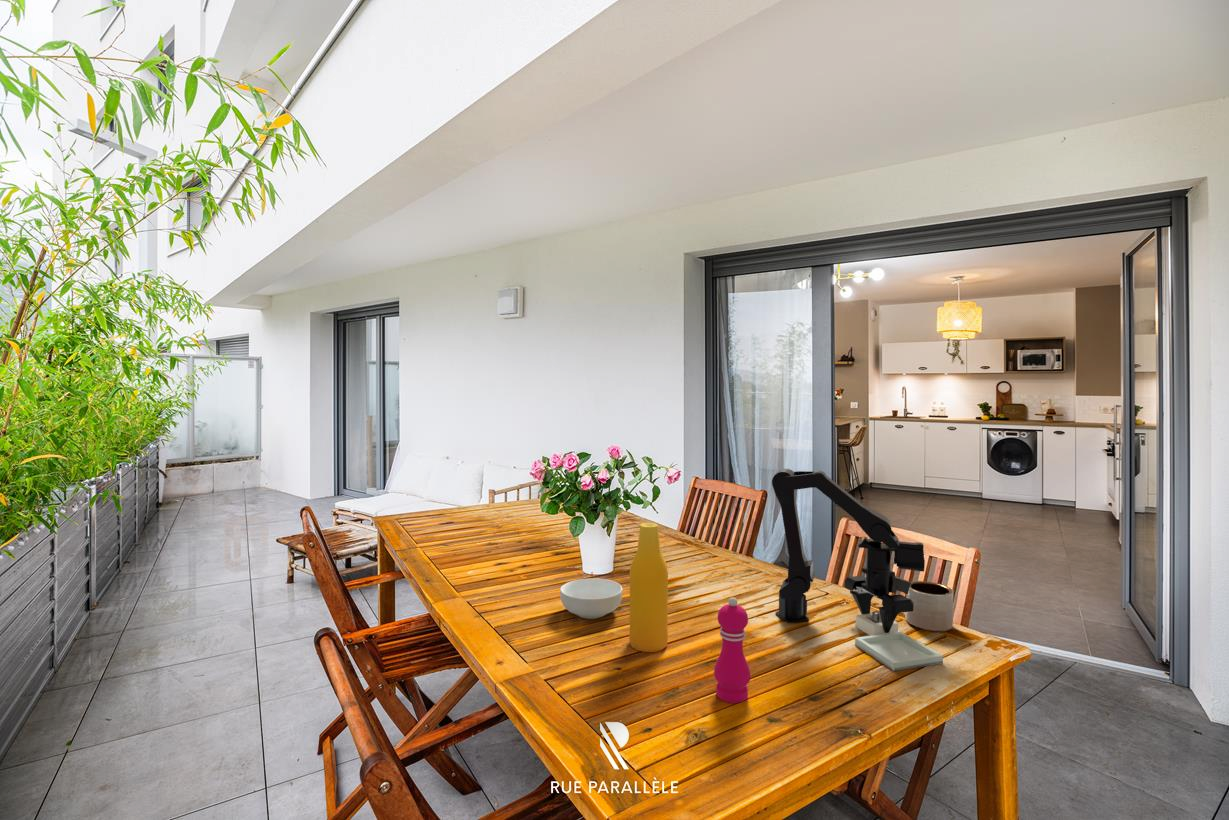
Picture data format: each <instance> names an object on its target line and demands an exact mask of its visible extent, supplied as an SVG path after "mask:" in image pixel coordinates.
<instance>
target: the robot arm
mask: <svg viewBox="0 0 1229 820" xmlns="http://www.w3.org/2000/svg"><path fill="white" fill-rule="evenodd" d="M771 485H772V488H773V491H774V495H775V496H776V499H777V501H778V504H779V505H780V509H781V517H782V522H783V527H784V528H783V529H784V535H785V540H786V541H785V542H786V547H787V553H788V567H787V577H786V578H785V579H784V580H783V582H782V584H781V585H780V588H779V590H778V611H775V615H777V616H778V617H779V618H781V620H784V621H785V622H786V623H796V622H797V623H798V622H804V621H805V622H806V621H809V620H810V617H808V616H807V615H808V600H807V595H806V593H808V591H809V590H810V589H811V586H812V583H813V582H814V580H815V576H816V573H815V570H814V566H813V565H814V560H812V559H810V560H808V558H807V557H806V554H805V550H804V544H803V537H802V530H801V526H800V525H801V524H800V518H799V512H798V506H797V498H798V497H797V496H798V490H802V489H803V490H805V489H812V488H813V489H814V488H816V489H818V490H819V491H820V492H821V493H822V494H824V495H825V496H826V497H827V498H828V499H829V500H831V501H832V502H834V504H835V505H837V506H838V507H839V508H841V509H842V510H843V511H845V513H847V514H848V515H849V516H850V517H852V519H853V520H854V521H855V522H856V523H857V525H858V526H859V527H860V529H861V530H862V531H863V532H864V533H865V534H866V535H867V536H868V537H867V536H864V537H863V538H862V539H861V540H860V541H858V545H857V546H858V548H859V549H860V548H861V549H865V567H861V572H862V573H864V574H865V576H863V575H854V576H847V577H846V578H845V579H844V588H845V589H847V590H849V594H851V597H852V598H853V599H854V601H855V603H856V605H857V607H858V609H859V612H860V615H862V614H870V613H871V606H872V599H873V598H874V597H875V598H878V599H879V600H881V606H879V607H878V609H879V611H878V612H880V616H881V621H882V625H883V629H884V632H885V633H889V632H890V629H891V627H892V625H893V623H894V621H895V620H896V618H897V616H898V615H899V614H901V613H906V612H911V611H913V609H914V602H913V601H912V600H911V599H909V598H907V597H906V596H904V595H903V594H905V595H906V594H908V591H909V588H910V585H911V582H912V581H908V580H906V579H904V578H901V577H899V576H897V575H896V572H895V571H894V570H892V569H891V566H892V565H891V564H892V562H891V560H892V556H891V555H892V552H893V565H896V567H898V569H899V570H906V571H914V572H923V573H924V572H925V568H926V567H925V565H926V564H925V563H926V562H925V555H924V553H925V551H924V543H923V542H908V541H900V539H899V537H898V536H897V535H896V534H895V532H894V531H893V530H892V523H891V520H890V519H889V518H888V516H886V515H884V514H882V513H881V512H878V511H877V510H875V509H873V508H871V507H868V506H866V505H865V504H862V503H861V502H860V501H859V500H858V499H856V498H855V497H854V496H853V495H851V494H850V492H848V491H846V490H845V489H844V488H843V487H841V486H840V485H839V484H838V483H836V482H835V481H834V480H832V479H831V478H830V477H829V476H828V475H827V473H825V471H822V470H813V471H810V470H809V471H807V470H804V471H803V470H797V471H794V470H792V469H790V468H782V469H780V470H778V471H777V472H776V473H775V474H774V476H773V477H772V479H771ZM868 538H869V539H868ZM897 591H898V592H900V593H901V592H902V593H903V594H895V593H897ZM890 593H892V594H890Z"/></svg>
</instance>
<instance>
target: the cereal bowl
mask: <svg viewBox="0 0 1229 820" xmlns="http://www.w3.org/2000/svg"><path fill="white" fill-rule="evenodd" d="M623 591H624V590H623V586H622V585H621V584H620V583H619V582H616V581H614V580H610V579H606V578H605V579H604V578H594V577H592V578H581V579H580V578H579V579H575V580H572V581H571V580H570V581H568V582H566V583H565V584H563V585H562V586H561V587H560V589H559V593H560V595H559V596H560V601H561V604H562V605H563V607H564V608H565V609H566V610H567V611H569V612H570V613H571V614H573V615H576V616H578V617H580V618H583V619H588V620H595V619H599V618H602V617H604V616H606V615H608V614H610V613H612V612H614V611H615V610H616V609H617V608H618V607H619V606H620V604H621V602H622V599H623Z"/></svg>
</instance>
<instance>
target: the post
mask: <svg viewBox="0 0 1229 820" xmlns="http://www.w3.org/2000/svg"><path fill="white" fill-rule="evenodd" d="M871 613H872V621H873V622H874V623H880V622H881V616H880V611H872V612H871Z"/></svg>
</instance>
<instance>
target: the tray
mask: <svg viewBox="0 0 1229 820" xmlns="http://www.w3.org/2000/svg"><path fill="white" fill-rule="evenodd" d="M854 646H856V647H858V648H859V649H860V650H861V651H863V652H865V654H868V655H869V656H870V657H872V658H873V659H875V660H877V662H879V663H881V664H883V665H884V666H885V667H887V668H888V669H890V670H892V671H893V672H898V671H902V670H903V671H904V670H910V669H916V668H922V667H929V666H936V665H942V664H944V655H942V654H941V653H939V652H937V651H935V650H934V649H932V648H930V647H929V646H927V645H925V644H923V643H921V642H919V640H916V639H915V638H912V637H911V636H910V635H907V634H906V633H904V632H902V631H898V632H894V633H887V634H879V635H872V636H870V635H865V636H859V637H855V639H854Z"/></svg>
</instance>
